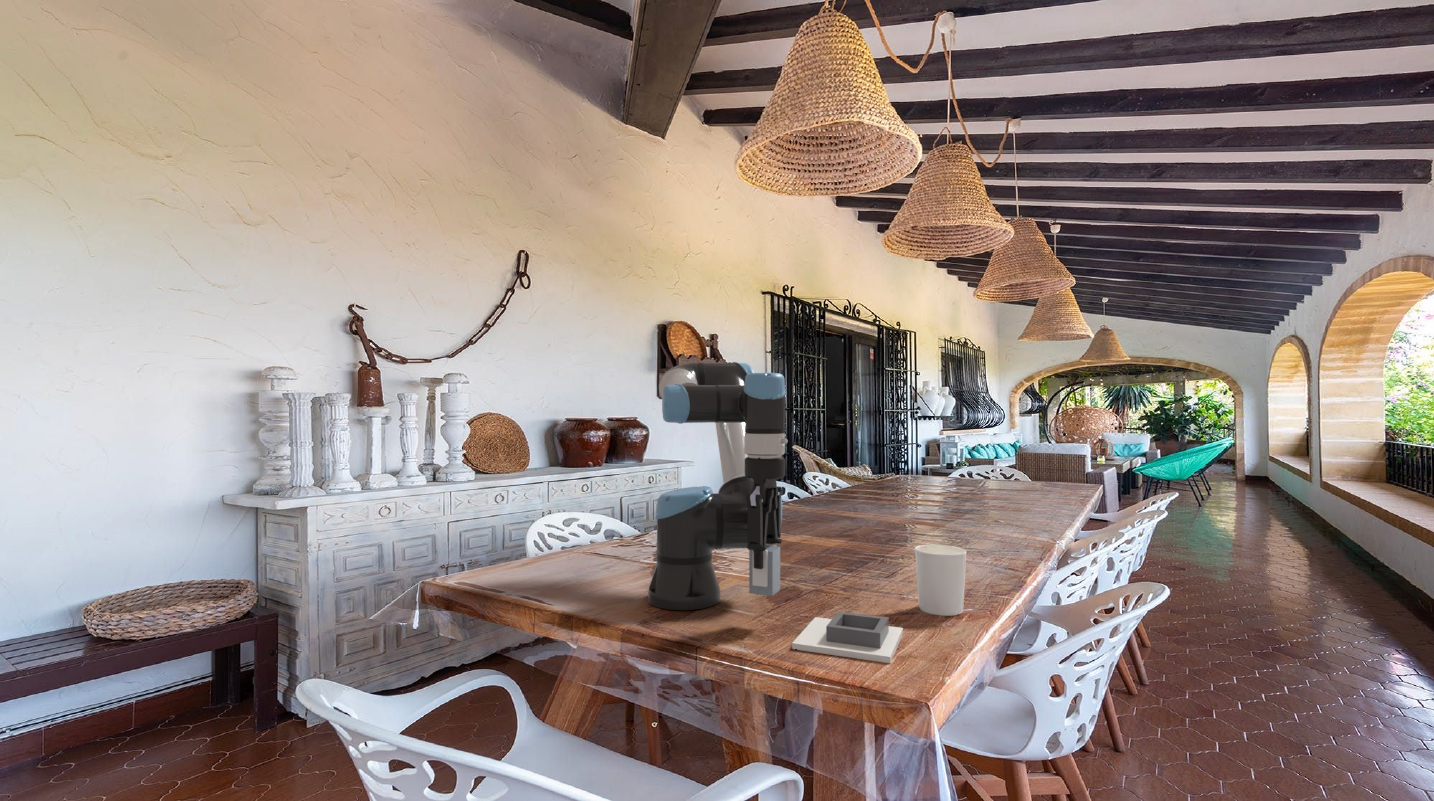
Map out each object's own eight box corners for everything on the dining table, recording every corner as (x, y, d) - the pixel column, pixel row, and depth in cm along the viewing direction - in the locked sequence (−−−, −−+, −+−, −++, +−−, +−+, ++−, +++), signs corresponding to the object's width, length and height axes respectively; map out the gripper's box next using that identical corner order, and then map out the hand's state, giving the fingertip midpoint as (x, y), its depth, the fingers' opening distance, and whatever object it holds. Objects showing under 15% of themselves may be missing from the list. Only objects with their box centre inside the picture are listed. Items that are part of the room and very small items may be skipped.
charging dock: (792, 649, 110) (792, 628, 110) (815, 622, 124) (815, 603, 124) (890, 663, 104) (890, 641, 104) (903, 633, 118) (903, 613, 118)
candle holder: (908, 611, 130) (908, 550, 131) (923, 600, 139) (922, 542, 139) (960, 620, 125) (959, 556, 125) (972, 607, 133) (971, 547, 133)
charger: (749, 593, 121) (749, 548, 121) (757, 586, 125) (757, 543, 125) (772, 596, 120) (772, 550, 120) (780, 589, 124) (780, 545, 124)
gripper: (768, 460, 113) (768, 597, 113) (797, 453, 129) (797, 572, 129) (728, 459, 116) (728, 592, 116) (761, 452, 132) (761, 569, 132)
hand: (764, 581), depth 122 cm, fingers closed on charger, 4 cm apart
